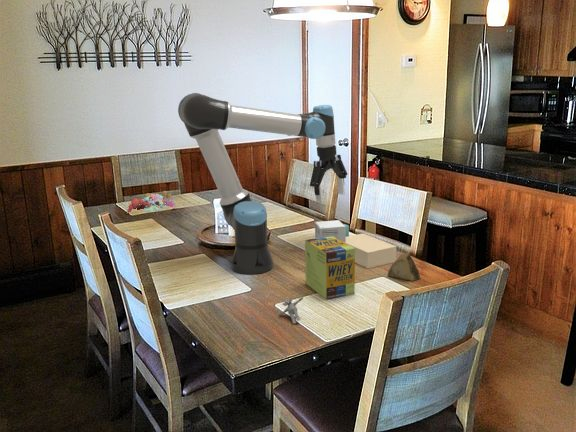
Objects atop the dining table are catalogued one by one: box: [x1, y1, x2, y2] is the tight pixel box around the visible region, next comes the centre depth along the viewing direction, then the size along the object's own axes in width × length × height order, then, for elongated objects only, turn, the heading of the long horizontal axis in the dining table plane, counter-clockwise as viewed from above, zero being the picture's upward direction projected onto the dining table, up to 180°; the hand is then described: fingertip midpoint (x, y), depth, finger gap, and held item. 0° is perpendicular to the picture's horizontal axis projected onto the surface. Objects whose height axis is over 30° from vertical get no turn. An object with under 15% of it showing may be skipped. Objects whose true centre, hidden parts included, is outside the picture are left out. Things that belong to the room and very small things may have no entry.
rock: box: [387, 253, 422, 281], centre depth 191 cm, size 10×8×10 cm
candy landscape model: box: [127, 190, 176, 213], centre depth 290 cm, size 25×24×9 cm
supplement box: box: [314, 219, 346, 243], centre depth 198 cm, size 10×9×17 cm
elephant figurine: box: [278, 296, 304, 325], centre depth 161 cm, size 9×6×8 cm
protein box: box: [304, 236, 356, 300], centre depth 181 cm, size 10×15×16 cm
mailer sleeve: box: [346, 233, 397, 270], centre depth 211 cm, size 20×13×6 cm, turn 30°
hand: (330, 198), depth 222 cm, fingers open, 13 cm apart
